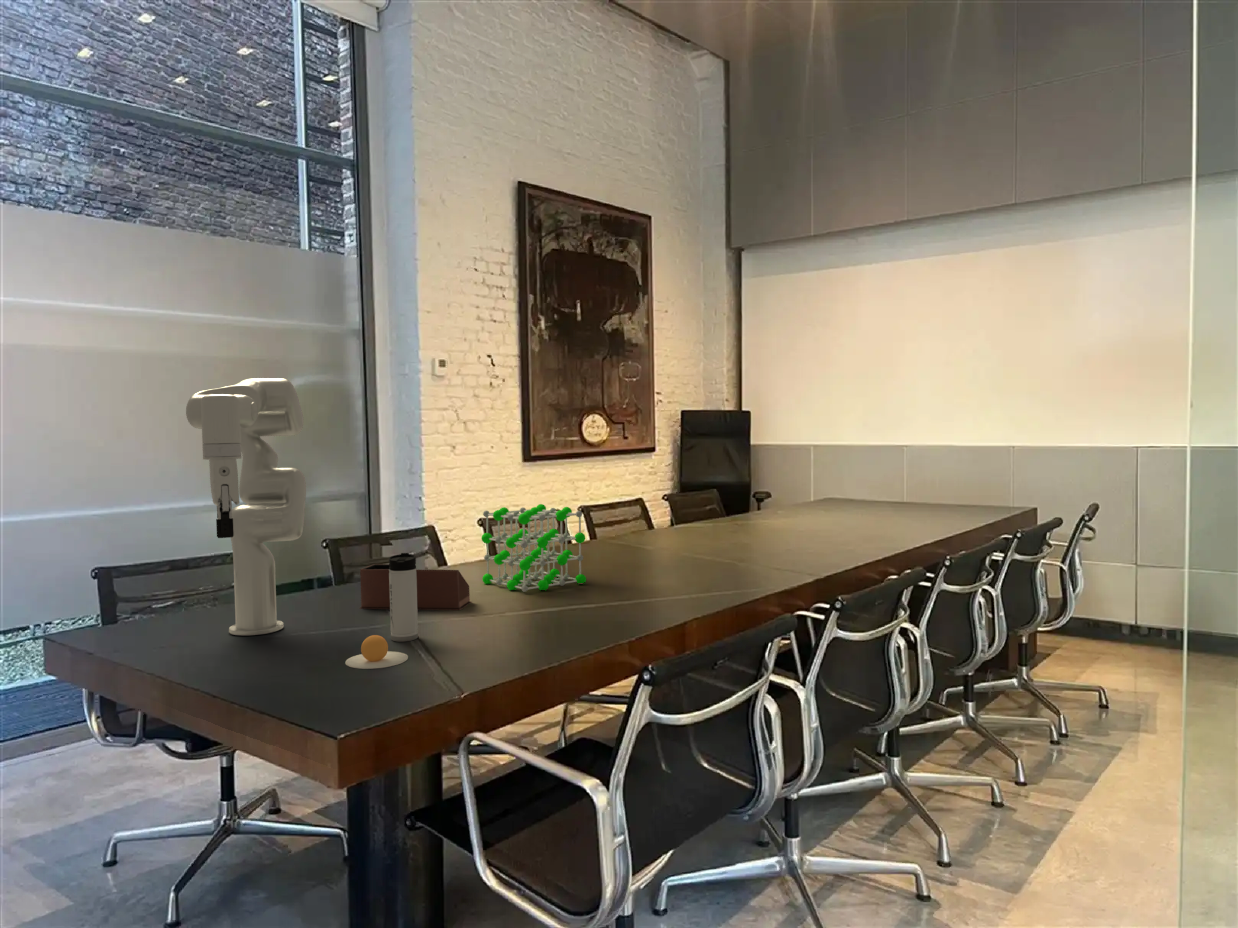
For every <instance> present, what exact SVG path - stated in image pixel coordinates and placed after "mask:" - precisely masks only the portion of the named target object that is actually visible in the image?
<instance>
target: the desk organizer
mask: <svg viewBox="0 0 1238 928" xmlns="http://www.w3.org/2000/svg"><path fill="white" fill-rule="evenodd" d="M389 567H390V566H389V563H373V564H371V565H368V566H365V567H363V568H361V569H359V572H360V574H359V577H360V578H359V579H360V607H359V608H358V609H360V610H361V609H365V610H366V609H368V610H370V609H371V610H376V609H377V610H390V586H389V573H390V572H389ZM416 576H417V610H427V611H429V610H431V611H432V610H434V611H435V610H436V611H461V610H463V609H464V608H466V607H467V606H468V604H469V605H470V604H472V603H473V601H471V599H470V597H471V596H470V585H469V584H468V582H467V580H466V579H465V578H464V576H463V575H462V574H461V572H460V570H459V569H416Z"/></svg>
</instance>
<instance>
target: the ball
mask: <svg viewBox="0 0 1238 928" xmlns="http://www.w3.org/2000/svg"><path fill="white" fill-rule="evenodd" d="M360 646H361V647H360V652H361V654H362V655H363V657H364V658H365V659H367V660H368V661H372V662H375V661H379V660H381V659H383V658H384V657H385V656H386V654H387V652H388V651H389V644H388V642H387V640H386V638H384V637H383V636H381V635H378V634H372V635H370V636H367V637H366V638H365V639H364V640H363V642H362V643H361V645H360Z"/></svg>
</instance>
